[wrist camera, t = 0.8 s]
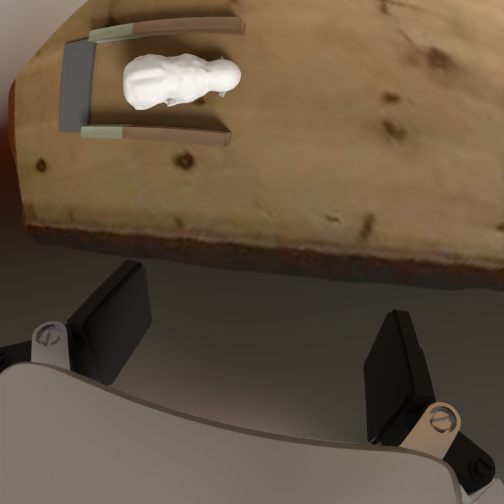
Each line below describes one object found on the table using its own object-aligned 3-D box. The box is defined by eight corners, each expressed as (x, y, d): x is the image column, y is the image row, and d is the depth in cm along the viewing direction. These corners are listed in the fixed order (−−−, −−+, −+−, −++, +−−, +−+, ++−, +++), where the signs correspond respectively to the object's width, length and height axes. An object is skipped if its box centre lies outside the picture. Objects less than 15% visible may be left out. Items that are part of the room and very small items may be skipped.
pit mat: (67, 44, 31) (65, 44, 30) (97, 37, 30) (94, 37, 29) (61, 131, 37) (59, 132, 37) (89, 131, 36) (86, 131, 36)
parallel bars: (103, 33, 30) (89, 31, 27) (245, 24, 27) (239, 17, 25) (94, 134, 37) (81, 137, 34) (229, 144, 34) (222, 147, 32)
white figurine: (114, 55, 23) (232, 37, 22) (147, 63, 31) (243, 52, 30) (115, 113, 26) (233, 101, 25) (148, 110, 34) (244, 102, 33)
